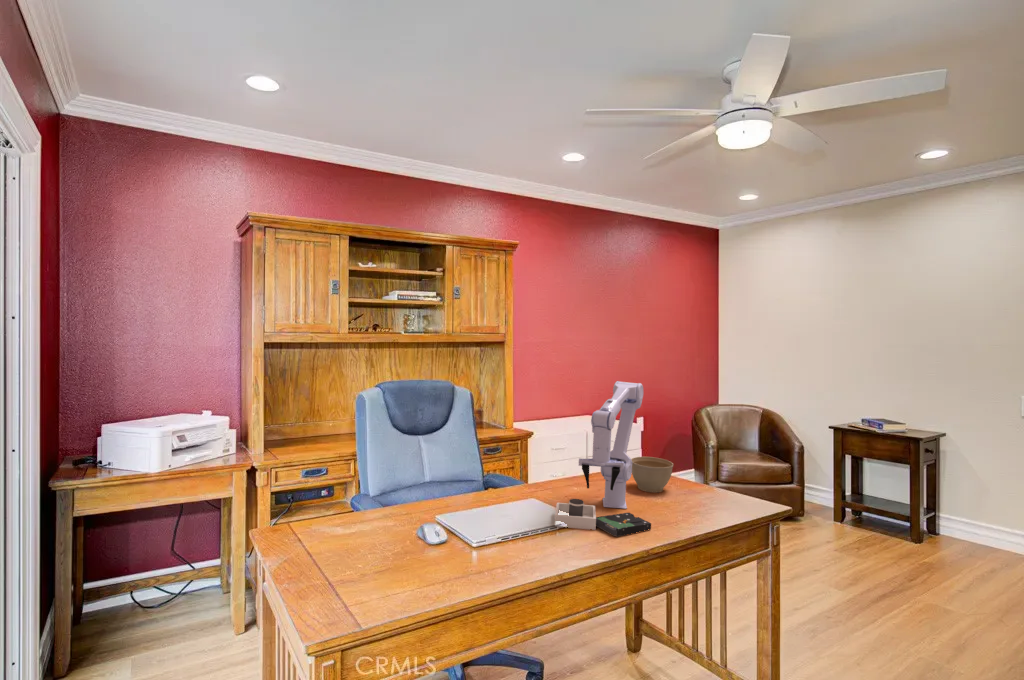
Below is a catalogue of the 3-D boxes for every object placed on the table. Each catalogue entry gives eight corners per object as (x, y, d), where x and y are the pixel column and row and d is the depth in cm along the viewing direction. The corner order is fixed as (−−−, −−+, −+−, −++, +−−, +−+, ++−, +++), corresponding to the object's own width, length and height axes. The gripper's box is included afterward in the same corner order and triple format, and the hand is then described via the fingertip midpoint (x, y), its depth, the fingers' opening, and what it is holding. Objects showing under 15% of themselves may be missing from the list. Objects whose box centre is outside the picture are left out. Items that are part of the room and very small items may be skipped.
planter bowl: (621, 488, 218) (623, 461, 218) (641, 481, 230) (642, 454, 230) (660, 498, 208) (662, 469, 207) (678, 489, 220) (680, 462, 220)
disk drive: (627, 520, 184) (593, 525, 176) (628, 512, 184) (594, 516, 176) (651, 532, 175) (616, 537, 167) (652, 523, 175) (617, 528, 167)
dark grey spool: (568, 516, 183) (569, 497, 182) (582, 517, 182) (584, 499, 182) (567, 521, 178) (568, 502, 178) (582, 523, 177) (583, 504, 177)
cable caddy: (556, 512, 187) (556, 502, 187) (594, 516, 185) (595, 505, 185) (554, 526, 174) (555, 515, 174) (595, 530, 173) (596, 518, 173)
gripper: (579, 448, 181) (577, 490, 182) (625, 451, 179) (623, 493, 180) (579, 443, 188) (577, 484, 189) (623, 446, 186) (621, 487, 187)
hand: (599, 488), depth 185 cm, fingers open, 7 cm apart
